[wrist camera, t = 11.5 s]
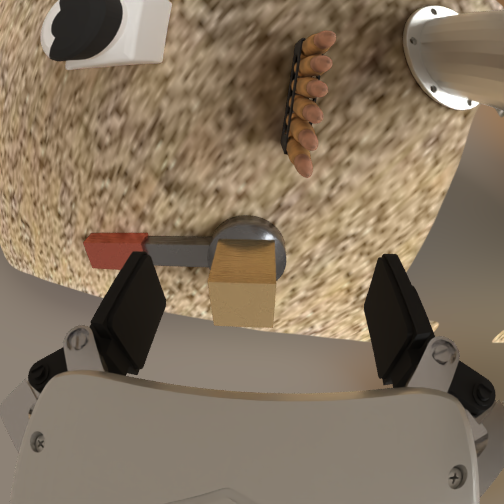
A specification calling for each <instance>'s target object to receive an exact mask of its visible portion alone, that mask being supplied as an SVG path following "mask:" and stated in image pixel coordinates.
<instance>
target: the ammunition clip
mask: <svg viewBox="0 0 504 504" xmlns="http://www.w3.org/2000/svg"><path fill="white" fill-rule="evenodd" d="M303 41H304V42H303ZM335 41H336V34H335V33H334V32H332V31H322V32H319V33H317V34H313V35H311V36H310V37H308V38H307V39H305V38H302V39H301V40H299V41H298V42H297V43H296V44H295V50H294V57H293V64H292V71H291V78H290V84H289V91H288V98H287V105H286V111H285V118H284V125H283V131H282V138H281V145H282V148H283V151H284V154H287V155H288V156H289V159H290V161H291V162H292V163H293V164H294V166H295V168H296V169H297V171H298V172H299V174H301V175H302V176H303V177H306V178H308V177H310V176H311V175H312V172H313V165H312V161H311V158H310V157H311V155H310V151H313V150H316V149H317V147H318V139H317V136H316V135H315V131H314V129H313V127H312V123H320V122H321V121H322V120H323V112H322V111H321V109H320V108H319V107H318V106H317V104H316V98H317V97H323V96H325V95H326V94H327V92H328V87H327V85H326V84H325V83H324V82H322V81H320V75H322V74H323V73H324V72H326V71H328V70H329V69H330V68H331V67H332V60H331V59H330V58H329V57H327V56H325V55H323V54H324V53H325V52H327V51H328V49H329V48H330V47H331V46H332V45H333V44H334V43H335ZM313 76H316V78H314V77H313ZM309 98H313V100H310V99H309ZM308 121H309V123H308ZM286 149H287V150H286ZM309 150H310V151H309Z"/></svg>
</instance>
